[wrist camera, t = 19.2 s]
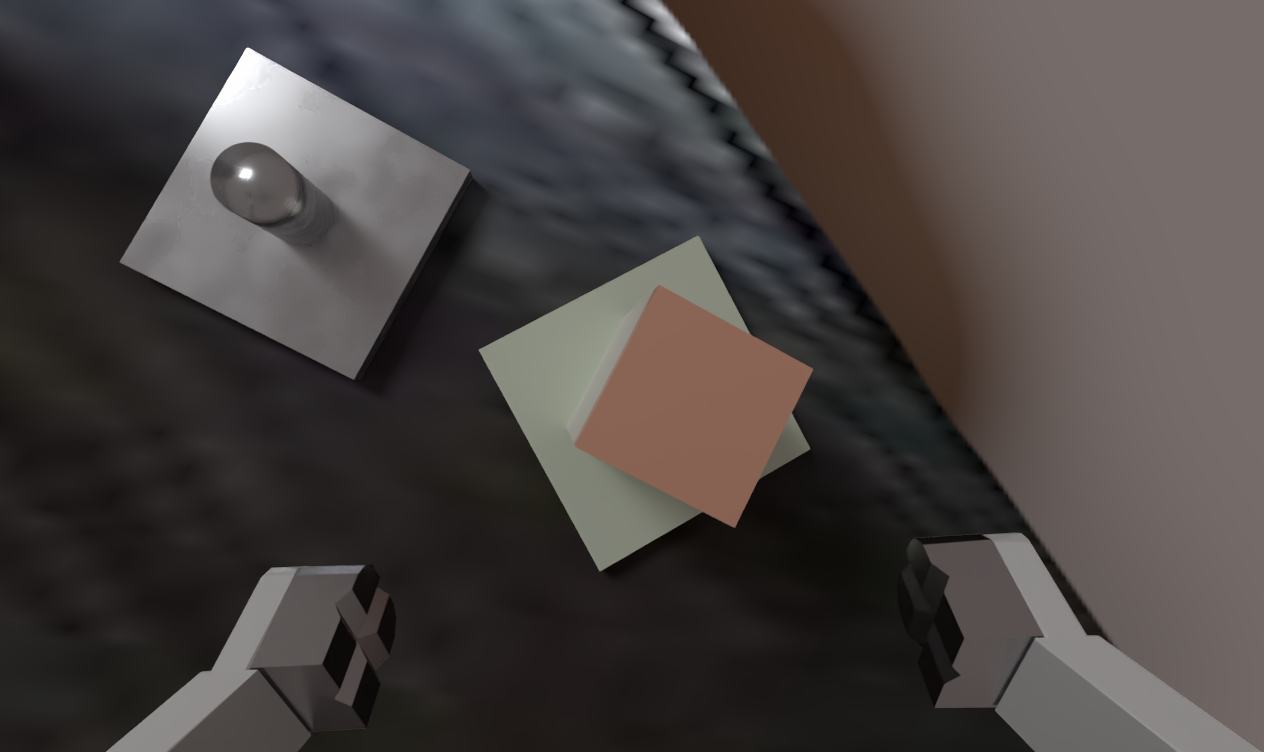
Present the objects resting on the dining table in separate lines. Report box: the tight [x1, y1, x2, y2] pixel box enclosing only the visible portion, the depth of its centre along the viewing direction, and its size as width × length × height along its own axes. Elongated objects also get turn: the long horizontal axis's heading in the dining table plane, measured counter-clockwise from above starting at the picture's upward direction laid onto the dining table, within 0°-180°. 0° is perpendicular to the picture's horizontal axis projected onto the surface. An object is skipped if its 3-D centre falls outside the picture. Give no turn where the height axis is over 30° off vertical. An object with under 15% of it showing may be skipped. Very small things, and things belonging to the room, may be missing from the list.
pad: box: [479, 236, 810, 571], centre depth 32 cm, size 12×12×1 cm
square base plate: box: [120, 48, 473, 380], centre depth 27 cm, size 11×11×6 cm
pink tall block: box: [566, 285, 813, 528], centre depth 27 cm, size 6×6×10 cm
